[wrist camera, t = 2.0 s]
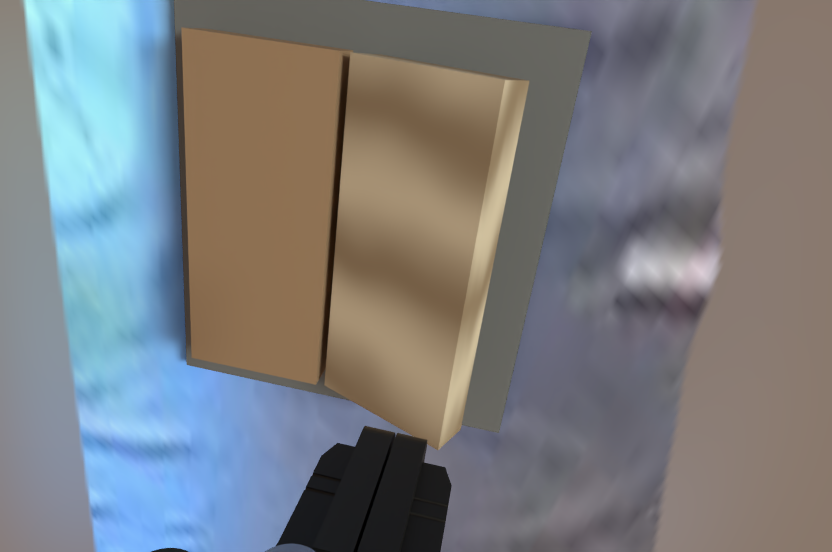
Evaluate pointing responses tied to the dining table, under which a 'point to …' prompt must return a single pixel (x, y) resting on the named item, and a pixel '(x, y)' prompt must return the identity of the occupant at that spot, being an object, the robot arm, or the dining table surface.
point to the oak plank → (417, 235)
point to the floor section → (336, 173)
